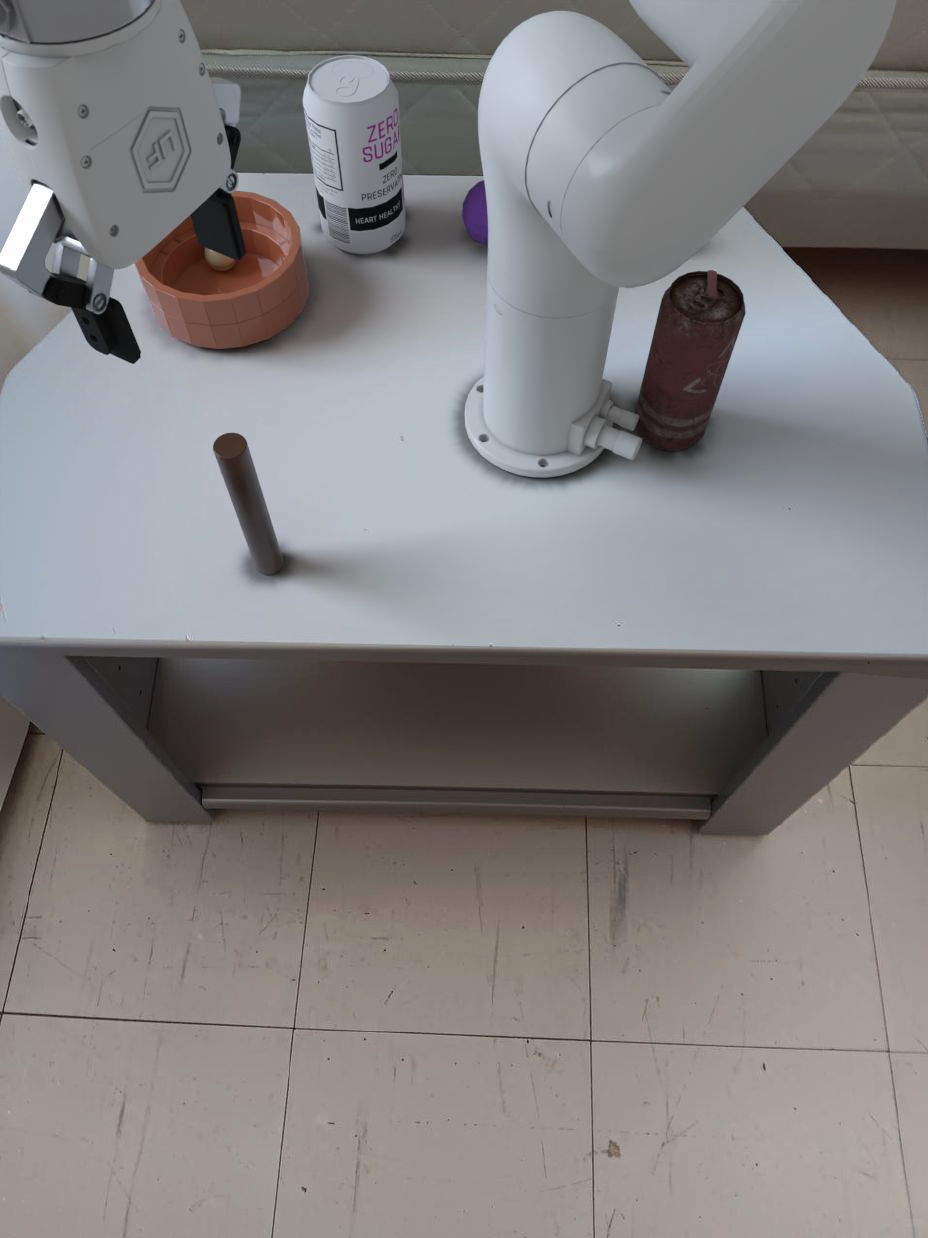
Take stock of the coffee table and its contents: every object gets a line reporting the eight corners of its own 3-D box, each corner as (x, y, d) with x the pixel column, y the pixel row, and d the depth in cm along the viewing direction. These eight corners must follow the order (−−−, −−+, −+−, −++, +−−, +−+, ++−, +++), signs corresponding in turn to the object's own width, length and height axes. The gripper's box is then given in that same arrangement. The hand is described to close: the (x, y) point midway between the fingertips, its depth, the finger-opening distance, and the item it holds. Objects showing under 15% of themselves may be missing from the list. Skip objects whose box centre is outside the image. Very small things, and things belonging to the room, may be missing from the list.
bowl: (339, 275, 88) (331, 221, 82) (251, 374, 81) (236, 322, 76) (214, 227, 91) (199, 171, 86) (120, 319, 85) (98, 265, 79)
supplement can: (333, 199, 93) (313, 46, 80) (413, 209, 92) (405, 56, 79) (313, 252, 89) (288, 100, 76) (396, 262, 88) (385, 111, 75)
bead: (246, 262, 88) (240, 236, 85) (228, 281, 86) (220, 255, 84) (221, 252, 88) (213, 225, 86) (202, 271, 87) (194, 244, 84)
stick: (289, 558, 72) (253, 439, 59) (273, 579, 71) (233, 463, 58) (265, 547, 72) (225, 427, 60) (249, 568, 71) (205, 450, 59)
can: (703, 399, 80) (746, 266, 68) (705, 456, 77) (751, 327, 64) (633, 394, 80) (664, 261, 68) (632, 450, 77) (664, 321, 65)
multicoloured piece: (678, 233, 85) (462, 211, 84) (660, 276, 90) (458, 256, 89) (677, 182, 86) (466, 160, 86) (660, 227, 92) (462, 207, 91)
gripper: (-22, 105, 34) (125, 422, 48) (256, -94, 41) (310, 234, 56) (-167, 47, 35) (18, 371, 50) (125, -133, 43) (211, 195, 58)
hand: (172, 299), depth 53 cm, fingers open, 9 cm apart
